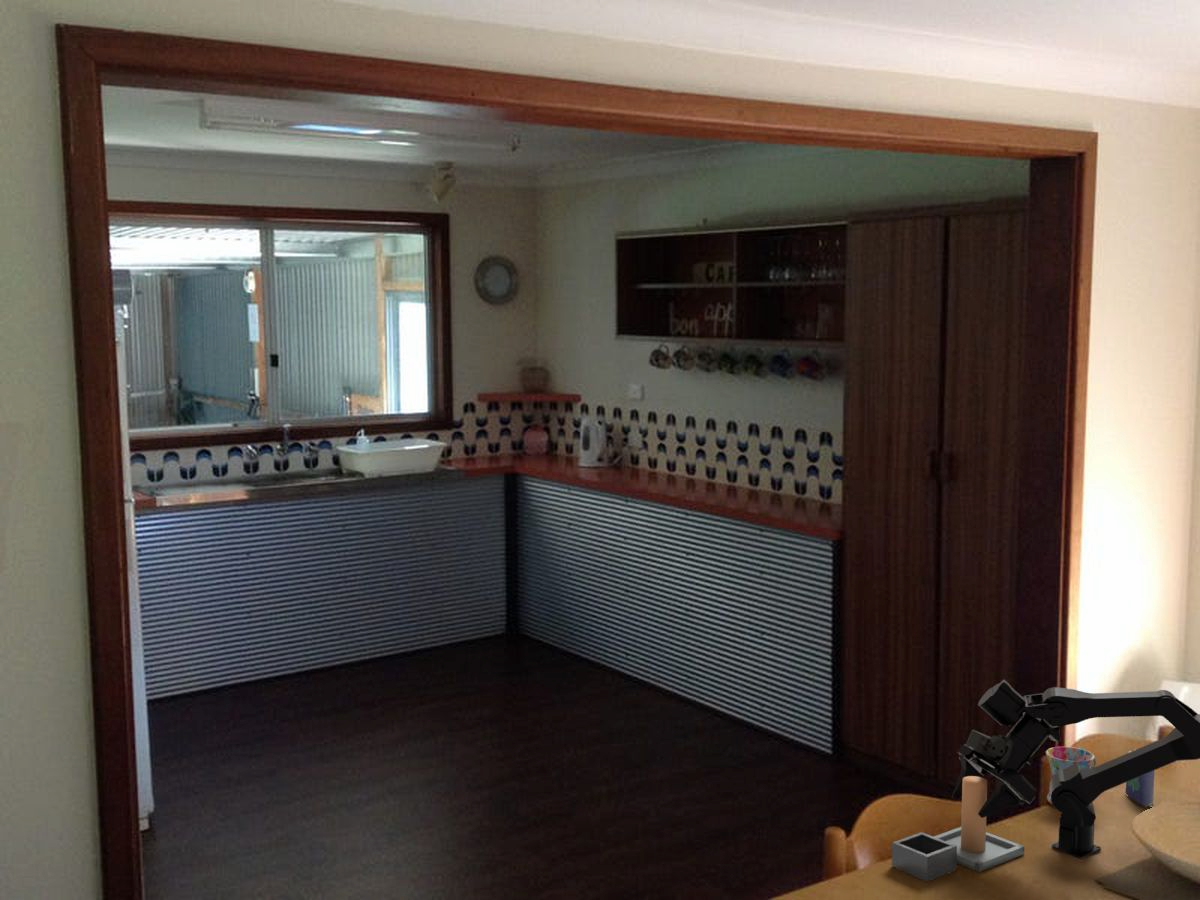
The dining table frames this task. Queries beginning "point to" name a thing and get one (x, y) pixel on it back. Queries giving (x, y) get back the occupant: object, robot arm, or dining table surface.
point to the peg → (973, 814)
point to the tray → (992, 856)
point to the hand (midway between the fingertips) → (966, 807)
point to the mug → (1068, 759)
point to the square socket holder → (924, 856)
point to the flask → (1141, 789)
